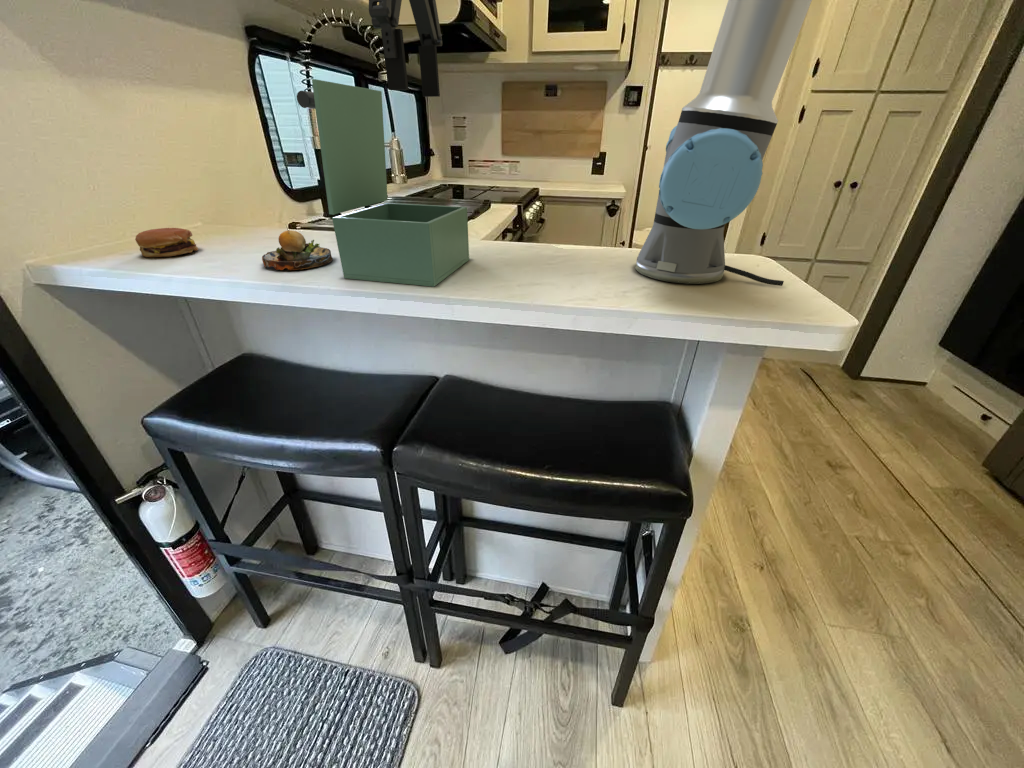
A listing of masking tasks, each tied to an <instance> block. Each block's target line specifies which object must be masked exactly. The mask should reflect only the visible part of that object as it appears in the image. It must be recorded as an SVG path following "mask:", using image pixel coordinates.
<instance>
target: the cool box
mask: <svg viewBox="0 0 1024 768" xmlns="http://www.w3.org/2000/svg"><path fill="white" fill-rule="evenodd" d="M331 220H332V225H333V230H334V234H335V240H336V245H337V250H338V254H339V259H340V264H341V265H340V266H341V270H342V274H343V278H344V279H348V280H349V279H350V280H360V281H371V282H381V283H389V284H390V283H391V284H402V285H414V286H424V287H436V286H437V285H439V284H440V283H441V282H442V281H444V280H445V279H446V278H447V277H449V276H450V275H452V274H453V273H454V272H456V271H457V270H458V269H460V268H461V267H462V266H463V265H465V264H466V263H467V262H468V261H470V247H469V246H470V245H469V221H468V220H469V217H468V207H467V206H457V205H439V204H420V203H419V204H417V203H416V204H415V203H397V202H384V203H380V204H377V205H373V206H370V207H369V206H368V207H366V208H362V209H359V210H355V211H351V212H348V213H344V214H340V215H335V216H332V217H331Z"/></svg>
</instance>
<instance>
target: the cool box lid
mask: <svg viewBox="0 0 1024 768" xmlns="http://www.w3.org/2000/svg"><path fill="white" fill-rule="evenodd" d="M311 83H312V91H307V90H299V91H298V92H297V94H296V101H297V103H298V105H299V107H301V108H304V109H312V110H315V115H316V122H317V129H318V138H319V139H318V140H319V146H320V154H321V162H322V169H323V177H324V184H325V185H324V186H325V191H326V200H327V206H328V207H327V208H328V214H329V215H332V216H334V215H338V214H341V213H345V212H349V211H353V210H356V209H360V208H364V207H367V206H368V207H369V206H372V205H375V204H379V203H380V204H381V203H383V202H388V200H389V199H388V183H387V182H388V179H387V164H386V161H387V160H386V146H385V144H386V143H385V128H384V110H383V108H384V107H383V96H382V95H383V94H382V92H383V91H382V90H377V89H371V88H367V87H360V86H355V85H348V84H344V83H339V82H337V83H336V82H333V81H327V80H322V79H316V78H312V79H311Z"/></svg>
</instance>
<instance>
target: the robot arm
mask: <svg viewBox="0 0 1024 768" xmlns="http://www.w3.org/2000/svg"><path fill="white" fill-rule="evenodd" d="M402 1H403V0H368V14H369V17H370V18H371V25H372V27H373V28H374V29H380V33H381V41H382V49H383V57H384V65H385V73H386V81H387V90H389V91H409V83H408V81H409V80H408V73H407V72H408V71H407V63H406V62H407V61H406V53H405V43H404V34H403V33H404V32H403V29H401V28H398V27H399V23H400V15H401V8H402ZM812 1H813V0H727V3H726V6H725V9H724V13H723V16H722V19H721V22H720V27H719V29H718V31H717V35H716V39H715V42H714V44H713V48H712V51H711V54H710V58H709V61H708V64H707V67H706V71H705V74H704V77H703V80H702V84H701V87H700V91H699V93H698V94H697V96H696V97H694V99H692V100H691V101H689V102H688V103H687V104H685V105H684V106H683V107H682V108H681V111H680V115H679V118H678V121H677V124H676V125H675V126H674V127H673V128H672V129H671V131H670V133H669V136H668V141H667V142H666V145H665V156H664V162H663V168H662V171H661V174H660V178H659V183H658V188H659V190H658V195H657V201H656V206H655V212H654V219H653V223H652V227H651V229H650V231H649V232H648V234H647V237H646V238H645V241H644V243H643V245H642V247H641V249H640V251H639V253H638V255H637V257H636V262H635V267H634V268H635V270H636V271H637V272H638V273H639V274H641V275H643V276H645V277H648V278H651V279H654V280H657V281H661V282H662V281H663V282H669V283H674V284H685V285H686V284H688V285H701V284H703V285H704V284H712V283H715V282H718V281H720V280H722V279H723V277H724V273H725V272H729V273H732V274H735V275H739V276H741V277H744V278H748V279H750V280H753V281H756V282H758V283H762V284H765V285H771V286H779V287H783V285H784V282H785V281H784V280H779V279H773V278H772V279H770V278H767V277H763V276H760V275H757V274H754V273H752V272H750V271H746V270H742V269H740V268H736V267H733V266H730V265H726V256H725V253H726V252H725V240H724V230H725V226H726V224H728V223H730V222H731V221H733V220H735V218H737V217H738V216H739V215H741V214H742V213H743V212H744V211H745V210H746V209H747V208H748V207H749V205H750V204H751V203H752V201H753V200H754V198H755V196H756V195H757V193H758V190H759V188H760V185H761V181H762V176H763V167H764V162H763V159H764V157H765V155H766V152H767V150H768V148H769V145H770V142H771V140H772V138H773V135H774V133H775V130H776V128H777V125H778V123H779V119H778V117H777V115H776V113H775V111H774V108H773V100H774V97H775V95H776V93H777V90H778V87H779V85H780V83H781V80H782V78H783V74H784V73H785V69H786V67H787V65H788V62H789V60H790V57H791V55H792V52H793V49H794V47H795V44H796V42H797V39H798V37H799V34H800V31H801V29H802V26H803V24H804V21H805V19H806V16H807V14H808V12H809V8H810V6H811V3H812ZM408 2H409V5H410V9H411V12H412V16H413V19H414V24H415V28H416V30H417V35H418V37H419V42H420V45H418V57H419V69H420V81H421V91H422V93H421V94H422V97H423V98H428V97H429V98H430V97H431V98H434V97H437V98H438V97H441V92H440V91H441V90H440V77H439V64H438V49H437V47H442V46H443V38H442V32H441V26H440V20H439V13H438V7H437V0H408Z"/></svg>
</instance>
